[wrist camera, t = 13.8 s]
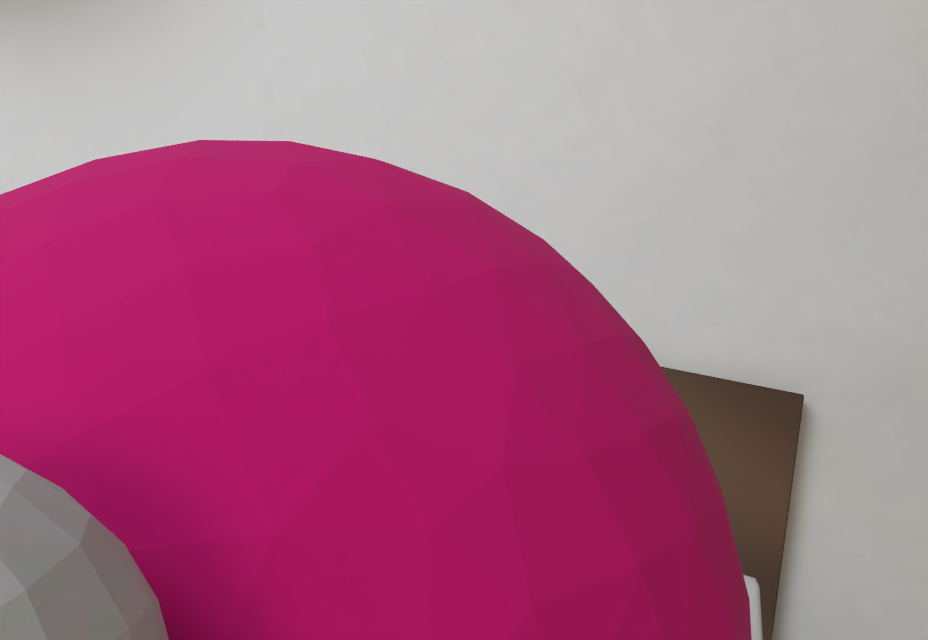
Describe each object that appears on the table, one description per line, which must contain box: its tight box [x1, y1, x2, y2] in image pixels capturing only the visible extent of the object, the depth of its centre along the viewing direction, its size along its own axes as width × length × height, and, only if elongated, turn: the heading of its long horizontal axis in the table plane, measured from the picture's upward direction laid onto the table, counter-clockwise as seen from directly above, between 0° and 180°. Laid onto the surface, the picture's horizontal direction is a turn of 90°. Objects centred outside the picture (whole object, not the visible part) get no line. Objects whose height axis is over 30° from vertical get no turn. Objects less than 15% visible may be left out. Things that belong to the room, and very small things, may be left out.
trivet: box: [660, 367, 804, 640], centre depth 33 cm, size 14×14×1 cm
